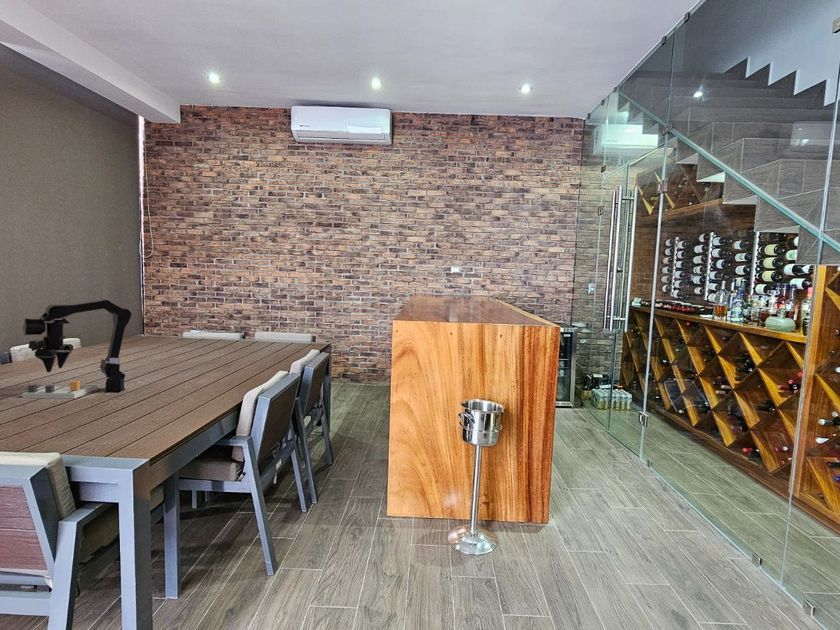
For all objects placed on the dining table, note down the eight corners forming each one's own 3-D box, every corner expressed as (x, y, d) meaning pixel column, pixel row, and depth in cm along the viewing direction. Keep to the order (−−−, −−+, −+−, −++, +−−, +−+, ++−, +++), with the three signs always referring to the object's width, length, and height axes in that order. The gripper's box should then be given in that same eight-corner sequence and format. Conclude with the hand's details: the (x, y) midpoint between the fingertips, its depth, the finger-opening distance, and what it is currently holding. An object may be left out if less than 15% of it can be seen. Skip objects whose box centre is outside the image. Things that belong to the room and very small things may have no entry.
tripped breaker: (80, 388, 209) (79, 380, 208) (77, 389, 207) (77, 382, 206) (73, 388, 208) (72, 380, 208) (70, 389, 206) (69, 381, 206)
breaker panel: (97, 388, 218) (97, 378, 218) (74, 398, 202) (74, 387, 201) (49, 388, 216) (49, 377, 216) (22, 397, 199) (22, 386, 199)
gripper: (45, 331, 203) (44, 365, 204) (19, 336, 185) (19, 374, 186) (74, 331, 206) (73, 366, 207) (51, 337, 188) (51, 374, 189)
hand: (54, 370), depth 197 cm, fingers open, 9 cm apart
